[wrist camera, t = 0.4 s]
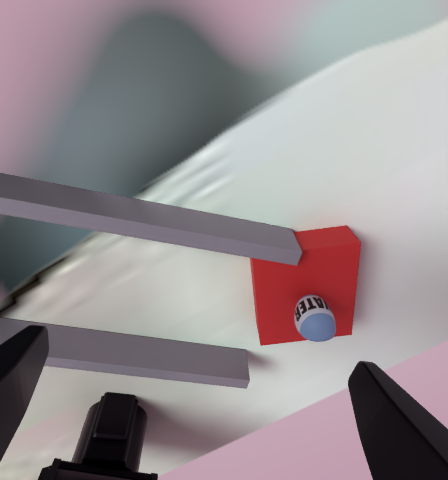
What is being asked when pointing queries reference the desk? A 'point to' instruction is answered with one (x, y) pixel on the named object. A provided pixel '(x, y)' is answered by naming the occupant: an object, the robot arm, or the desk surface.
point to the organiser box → (151, 228)
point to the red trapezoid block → (308, 289)
